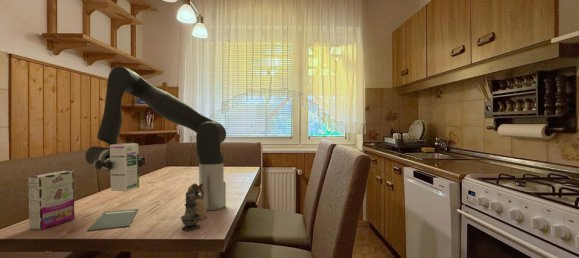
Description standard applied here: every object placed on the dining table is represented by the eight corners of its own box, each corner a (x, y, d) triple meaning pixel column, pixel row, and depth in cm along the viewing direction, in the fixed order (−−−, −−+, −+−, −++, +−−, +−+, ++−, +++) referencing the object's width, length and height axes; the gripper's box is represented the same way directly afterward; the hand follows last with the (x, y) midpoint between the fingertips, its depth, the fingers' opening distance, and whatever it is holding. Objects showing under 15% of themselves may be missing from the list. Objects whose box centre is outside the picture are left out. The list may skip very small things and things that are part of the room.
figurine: (189, 215, 103) (188, 181, 103) (208, 215, 103) (208, 181, 103) (180, 221, 96) (180, 185, 96) (202, 221, 96) (202, 185, 96)
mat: (104, 212, 106) (104, 211, 106) (138, 209, 110) (138, 208, 110) (87, 231, 87) (87, 229, 87) (129, 226, 91) (129, 225, 91)
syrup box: (126, 191, 89) (126, 144, 88) (109, 190, 90) (109, 143, 89) (139, 187, 94) (139, 143, 94) (123, 186, 95) (123, 142, 95)
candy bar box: (62, 218, 100) (62, 170, 99) (75, 219, 99) (74, 170, 98) (27, 229, 89) (27, 175, 88) (40, 230, 88) (40, 176, 87)
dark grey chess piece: (180, 226, 91) (180, 188, 91) (199, 223, 93) (199, 186, 93) (181, 232, 86) (181, 192, 86) (201, 229, 88) (201, 190, 88)
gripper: (88, 150, 97) (99, 154, 85) (135, 148, 107) (150, 151, 95) (88, 172, 97) (100, 179, 85) (135, 168, 107) (150, 173, 95)
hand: (126, 164), depth 90 cm, fingers closed on syrup box, 8 cm apart
